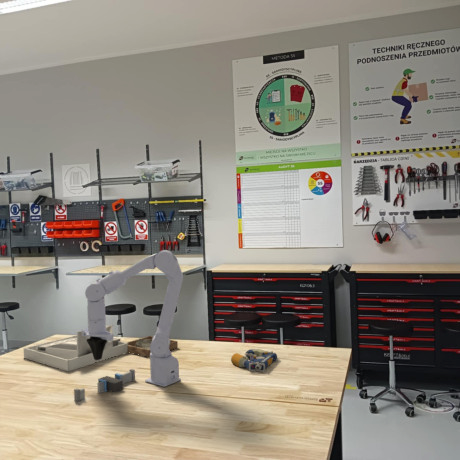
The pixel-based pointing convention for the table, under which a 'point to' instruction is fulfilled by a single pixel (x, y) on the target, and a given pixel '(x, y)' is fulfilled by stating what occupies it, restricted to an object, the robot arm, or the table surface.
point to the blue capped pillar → (102, 387)
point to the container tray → (75, 362)
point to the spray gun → (254, 359)
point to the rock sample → (143, 343)
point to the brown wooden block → (146, 352)
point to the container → (74, 346)
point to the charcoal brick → (113, 384)
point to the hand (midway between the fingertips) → (98, 359)
